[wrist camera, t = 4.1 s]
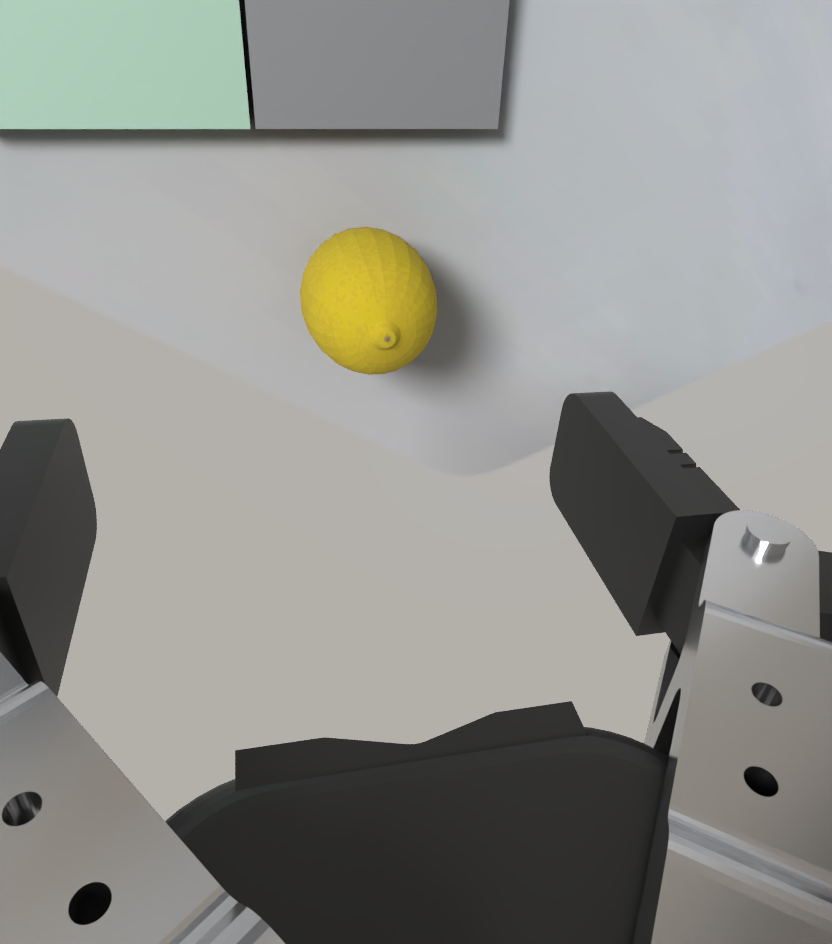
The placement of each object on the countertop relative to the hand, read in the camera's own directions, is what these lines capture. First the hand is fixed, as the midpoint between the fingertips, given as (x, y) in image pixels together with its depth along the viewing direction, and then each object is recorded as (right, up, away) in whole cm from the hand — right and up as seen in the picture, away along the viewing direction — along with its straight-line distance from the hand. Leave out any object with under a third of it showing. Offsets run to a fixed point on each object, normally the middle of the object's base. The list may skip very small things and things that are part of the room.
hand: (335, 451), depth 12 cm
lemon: (-2, +9, +21) cm, 23 cm away
